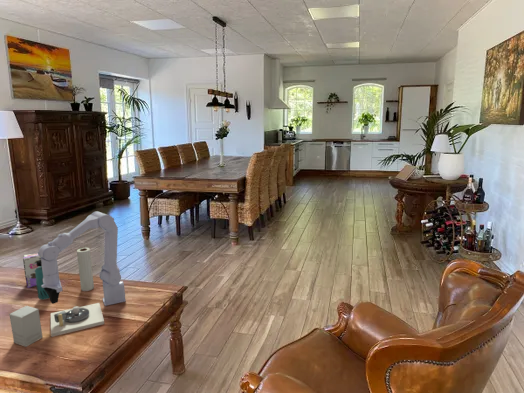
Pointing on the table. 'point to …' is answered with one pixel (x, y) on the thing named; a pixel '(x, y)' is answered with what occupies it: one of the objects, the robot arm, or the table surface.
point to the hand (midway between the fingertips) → (54, 302)
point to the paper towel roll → (85, 269)
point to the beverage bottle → (40, 282)
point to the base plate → (66, 327)
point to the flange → (71, 317)
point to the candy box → (30, 268)
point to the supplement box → (26, 326)
